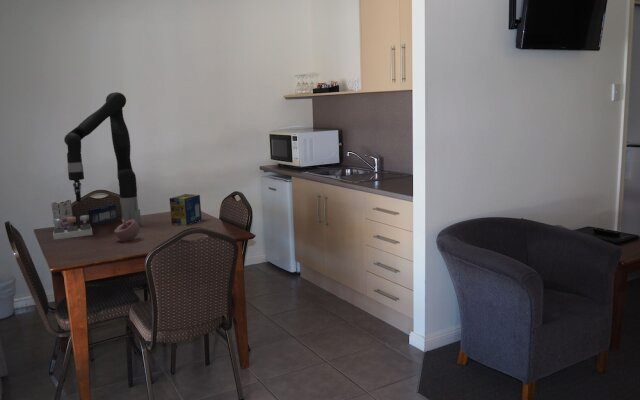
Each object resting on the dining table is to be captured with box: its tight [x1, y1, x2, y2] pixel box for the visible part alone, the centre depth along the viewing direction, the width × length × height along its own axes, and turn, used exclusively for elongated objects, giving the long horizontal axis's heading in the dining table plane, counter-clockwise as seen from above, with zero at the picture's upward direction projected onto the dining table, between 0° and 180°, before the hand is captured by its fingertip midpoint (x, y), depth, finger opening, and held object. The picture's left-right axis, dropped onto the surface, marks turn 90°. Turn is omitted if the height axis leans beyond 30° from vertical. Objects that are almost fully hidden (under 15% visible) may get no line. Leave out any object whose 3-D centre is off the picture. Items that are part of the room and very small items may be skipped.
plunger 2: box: [79, 214, 89, 225], centre depth 300 cm, size 4×4×4 cm
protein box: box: [169, 193, 202, 226], centre depth 322 cm, size 10×15×16 cm
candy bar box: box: [51, 199, 75, 230], centre depth 317 cm, size 11×5×16 cm, turn 168°
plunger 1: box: [52, 218, 63, 227], centre depth 295 cm, size 4×4×4 cm
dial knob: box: [67, 216, 77, 226], centre depth 298 cm, size 4×4×5 cm
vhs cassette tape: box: [87, 204, 119, 227], centre depth 331 cm, size 18×3×10 cm, turn 148°
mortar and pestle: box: [113, 218, 140, 242], centre depth 281 cm, size 12×12×12 cm
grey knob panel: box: [52, 223, 93, 241], centre depth 299 cm, size 19×7×5 cm, turn 115°
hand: (78, 200), depth 299 cm, fingers open, 8 cm apart
